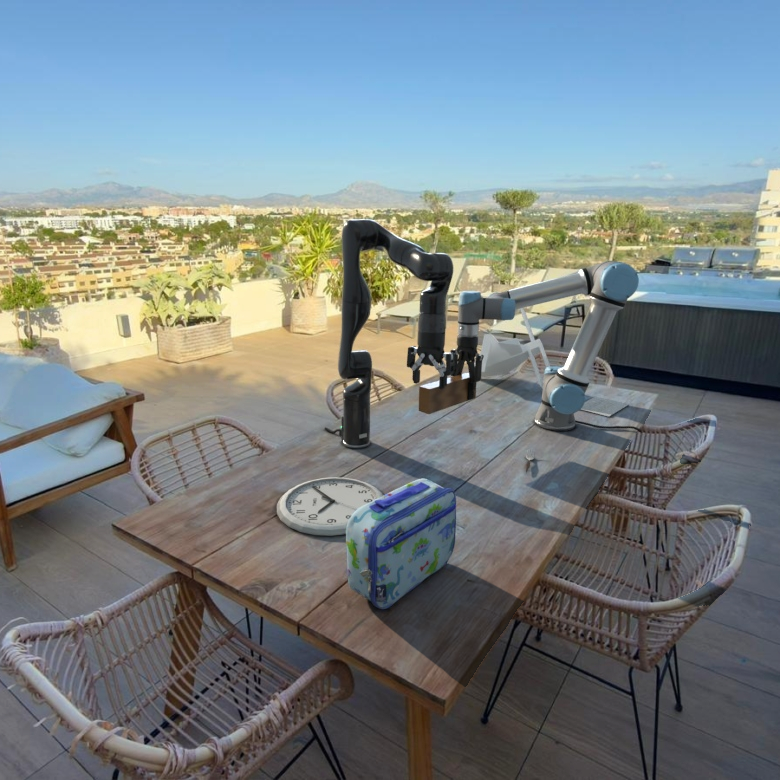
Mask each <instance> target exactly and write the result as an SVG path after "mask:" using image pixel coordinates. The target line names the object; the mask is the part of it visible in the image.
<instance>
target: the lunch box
mask: <svg viewBox="0 0 780 780" xmlns="http://www.w3.org/2000/svg"><path fill="white" fill-rule="evenodd" d="M456 498H457V496H456V493H455V491H454V489H452V488H450V487H443V486H441V485H439V484H438V483H436V482H433V481H432V480H430V479H427V478H423V477H422V478H418V479H416V480H413V481H411V482H409V483H406V484H405V485H402V486H400V487H398V488H396V489H394V490H392V491H390V492H388V493H386V494H384V496H382V497H380V498H378V499H376V500H374V501H372V502H370V503H368V504H366V505H364V506H362V507H360V508H358V509H357V510H356V511H355V512H354V513H353V514H352V515H351V517H350V519H349V521H348V524H347V528H346V534H345V547H346V549H345V550H346V572H347V573H346V575H347V584H348V587H349V589H350V590H351V591H353V592H355V593H357V594H358V595H361V596H363V597H364V598H365V599H367V600H368V601H369V602H371V604H372V605H373V606H374V607H376V608H377V609H380V610H386V609H389V608H391V607H393V605H395V603H397V602H398V601H399V600H400V599H402V598H403V597H404V596H405V595H408V593H410V592H411V591H412V590H413V589H415V588H416V587H417V586H419V585H420V584H421V583H423V581H424V580H425V579H427V578H428V577H430V576H431V575H433V574H435V573H437V572H438V571H439V570H441V569H442V568H443V567H444V566H446V564H447V563H448V562H449V560H450V559H451V556H452V555H453V552H454V548H455V544H456V531H457V530H456V529H457V499H456Z"/></svg>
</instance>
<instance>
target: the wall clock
mask: <svg viewBox="0 0 780 780" xmlns="http://www.w3.org/2000/svg"><path fill="white" fill-rule="evenodd" d="M384 495H385V494H384V493H383V492H382V491H381V490H380V489H379V488H377V487H376V486H374V485H372V484H371V483H369V482H365V481H362V480H359V479H355V478H349V477H338V476H337V477H335V476H333V477H332V476H331V477H322V478H317V479H312V480H307V481H305V482H302V483H299V484H297V485H295V486H293V487H292V488H290V489H288V490H287V491H286V492H285V493H284V494H283V495H281V496H280V498H279V499H278V502H277V503H276V515H277V517H278V518H279V520H280V521H281V522H282V523H283V524H285V525H286V526H287V527H288V528H290V529H293V530H295V531H297V532H299V533H303V534H308V535H312V536H327V537H328V536H329V537H331V536H332V537H333V536H342V535H346V528H347V524H348V521H349V519H350V517H351V515H352V514H353V513H354V512H355V511H356V510H357V509H358V508H360V507H362V506H364V505H366V504H368V503H370V502H372V501H374V500H376V499H378V498H380V497H382V496H384Z"/></svg>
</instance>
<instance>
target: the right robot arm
mask: <svg viewBox="0 0 780 780" xmlns="http://www.w3.org/2000/svg"><path fill="white" fill-rule="evenodd" d="M639 284H640V279H639V275H638V273H637V271H636V269H635V268H634V267H633V266H632V265H630V264H628V263H626V262H622V261H616V260H606V261H602V262H599V263H596V264H594V265H591V266H588V267H584V268H580V269H579V270H578V272H577V273H572V274H569V275H568V274H567V275H564V276H560V277H557V278H553V279H548V280H545V281H541V282H537V283H533V284H528V285H524V286H520V287H517V288H513V289H512V288H511V289H508V290H505V291H500V292H497V291H496V292H492V293H491V294H489V296H487V297H484V296H483V297H482V293H481V292H480V291H477V290H464V291H461V292H460V293H459V298H458V306H457V308H458V310H457V311H458V312H457V335H456V346H457V347H456V348H453V349H450V351H449V353H452V352H453V353H454V374H451V375H450V377H453V376H457V375H460V374H463V370H464V367H465V363H466V365H467V369H468V373H469V377H470V382H468V396H467V400H469V401H471V400H470V399H472V400H474V399H473V397H474V391H475V389H476V390H477V384H476V382H477V383H478V382H481V381H482V377H481V371H482V360H483V358H484V355H480V353H478V346H479V336H478V335H479V333H480V320H492V321H493V320H494V321H512V320H514V319H515V314H516V310H520V308H523V309H524V308H528V307H531V306H536V305H540V304H544V303H545V304H546V303H549V302H553V301H556V300H557V301H558V300H561V299H565V298H570V297H574V296H577V295H581V294H582V295H584V296H589V300H590V305H589V308H588V310H587V312H586V315H585V317H584V319H583V322H582V324H581V327H580V328H579V331H578V333H577V335H576V338H575V340H574V343H573V345H572V348H571V349H570V351H569V354H568V357H567V358H566V361H565V363H564V366H558V365H557V366H556V365H555V366H554V365H553V366H550V367H547V368H546V367H545V369H544V373H543V389H542V394H541V402H540V405H539V407H538V410H537V411H536V413H535V416H534V424H535V425H536V426H537V427H539V428H542V429H544V430H549V431H556V432H567V431H572V430H574V429H575V428H576V424H580V425H584V426H589V427H591V428H592V427H593V428H597V429H608V430H609V429H611V430H612V429H632V430H636V431H637V432H639V433H640V434H641V433H642V434H643V431H642V429H640V428H639V427H637V426H633V425H622V426H621V425H613V426H609V425H608V426H607V425H597V424H593V423H589V422H584V421H580V420H577V419H576V418H575V417H576V416H575V413H577V412H579V411H581V410H580V409H581V408H582V407H583V405H584V403H585V402H586V391H587V389H588V387H589V385H590V383H591V382H590V378H589V375H590V372H591V369H592V367H593V365H594V363H595V361H596V358H597V356H598V354H599V352H600V349H601V348H602V345H603V343H604V340H605V338H606V336H607V334H608V333H609V329H610V327H611V325H612V323H613V321H614V318H615V316H616V314H617V312H619V311H620V310H623V309H624V308H625V306H626V304H627V301H628V299H629V298H631V297H632V296H633V295H634V294H636V291H638V288H639Z"/></svg>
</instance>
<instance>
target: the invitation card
mask: <svg viewBox="0 0 780 780" xmlns="http://www.w3.org/2000/svg"><path fill="white" fill-rule="evenodd" d="M628 406H629V404H627V403H623V402H618V401H614V400H609V399H605V398H601V397H596V396H593V397H592V398H590V399H588V400H585V403H584V405H583V407H582V408H581V409H580V410H579V411H584V412H587V413H593V414H596V415H600V416H604V417H608V418H609V417H611V416H613V415H614V414H616V413H617V412H619V411H621V410H623V409H624V408H626V407H628Z"/></svg>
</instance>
